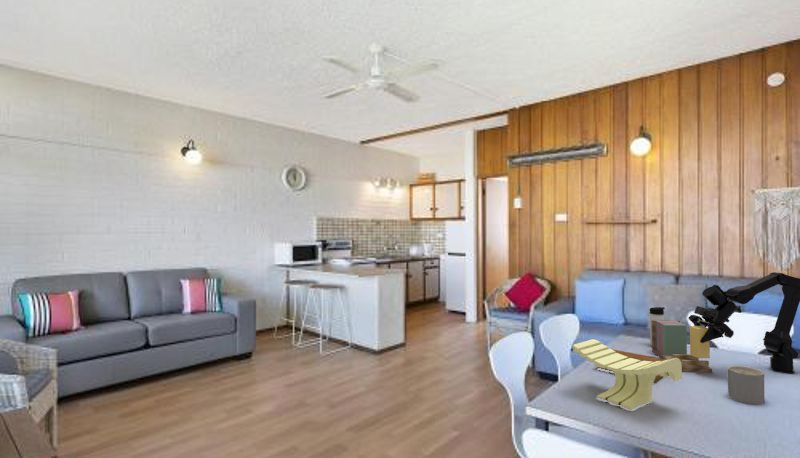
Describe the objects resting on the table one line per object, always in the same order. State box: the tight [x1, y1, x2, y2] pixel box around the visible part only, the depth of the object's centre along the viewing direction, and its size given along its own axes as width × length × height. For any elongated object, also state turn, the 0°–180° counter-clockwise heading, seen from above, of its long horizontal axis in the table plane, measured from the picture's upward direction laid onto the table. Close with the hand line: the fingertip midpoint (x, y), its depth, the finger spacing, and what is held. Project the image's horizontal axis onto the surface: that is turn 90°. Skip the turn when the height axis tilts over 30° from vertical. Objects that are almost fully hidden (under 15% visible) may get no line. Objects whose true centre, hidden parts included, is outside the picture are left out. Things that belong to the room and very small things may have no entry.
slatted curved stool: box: [572, 338, 683, 410], centre depth 151 cm, size 30×16×18 cm, turn 33°
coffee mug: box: [727, 365, 766, 405], centre depth 151 cm, size 13×10×10 cm
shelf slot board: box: [651, 319, 713, 374], centre depth 191 cm, size 12×28×16 cm, turn 171°
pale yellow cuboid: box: [689, 325, 711, 359], centre depth 176 cm, size 4×5×12 cm
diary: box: [597, 348, 668, 384], centre depth 181 cm, size 23×19×6 cm
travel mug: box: [649, 306, 665, 348], centre depth 214 cm, size 6×7×20 cm
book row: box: [656, 321, 688, 356], centre depth 199 cm, size 9×9×14 cm
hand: (696, 340), depth 176 cm, fingers closed on pale yellow cuboid, 5 cm apart
